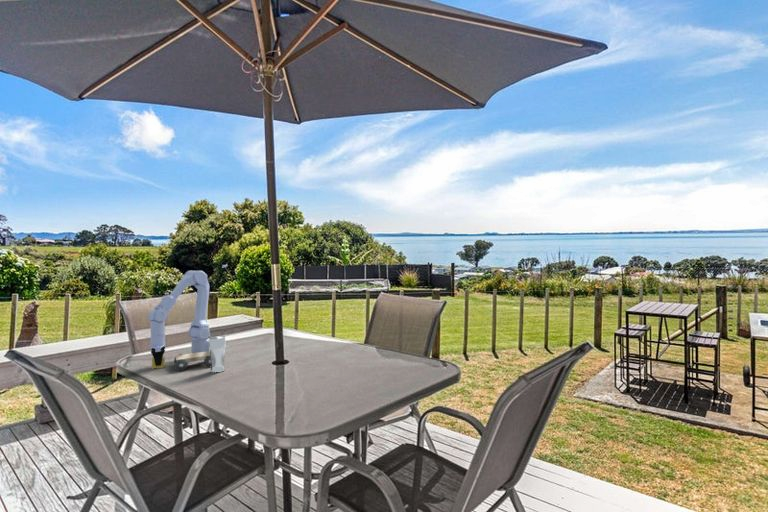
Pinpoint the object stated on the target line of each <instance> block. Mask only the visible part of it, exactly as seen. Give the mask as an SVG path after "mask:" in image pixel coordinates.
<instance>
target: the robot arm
mask: <svg viewBox="0 0 768 512" xmlns="http://www.w3.org/2000/svg"><path fill="white" fill-rule="evenodd" d="M191 286H193V287H195V288H196V290H197V292H196V293H197V294H196V299H195V300H196V302H195V312H194V320H193V321H192V322H191V324H190V327H189V329H188V333H187V334H188V336H189V337H190V341H191V345H190V348H191V353H199V352H206V351H209V338H210V332H211V331H210V325H209V323H208V321H207V313H208V306H209V305H208V304H209V295H210V287H211V286H210V283H209V280H208V274H207V273H205V272H204V271H203V270H192V269H191V270H187V271H186V272H185V273H184V274H183V275H182V277H181V279H180V281H179V282H178V283H177V284H176V286H175V287H174V289H173V290H172V291H171V293H170V294H168V295H165V296H163V297H161V301H160V302H159V303H158V304H157V305H155V307H154V308H153V309H150V311H149V313H148V315H147V319H148V320H149V321H150V322H149V323H150V344H148V345H147V348H151V349H150V354H151V355H152V357H154V361H155V365H156V366H159V365H161V363H162V357H163V356H164V354H165V353H166V327H165V326H166V325H165V324H166V323H165V322H166V321H165V320H166V319H167V318H168V314H169V312H170V311H171V310H172V308H173V307H174V306H175V305H176V304H177V299H178V298H179V296H180V295H182V293H183V292H184V291H185V290H186V289H187V288H188V287H191Z"/></svg>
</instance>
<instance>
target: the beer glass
mask: <svg viewBox="0 0 768 512" xmlns="http://www.w3.org/2000/svg"><path fill="white" fill-rule="evenodd" d="M208 339H209V354H210V359H211V367H210V373H211V372H213V373H212V374H217V373H216V372H221V373H223V372H222V371H224V370H225V371H226V366H225V357H226V353H227V352H226V351H227V344H226V336H225V335H216V336H211V337H210V336H209V337H208ZM225 371H224V372H225ZM214 372H215V373H214Z"/></svg>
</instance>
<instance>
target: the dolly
mask: <svg viewBox="0 0 768 512" xmlns="http://www.w3.org/2000/svg"><path fill="white" fill-rule="evenodd" d="M173 361H174V367H175V368H174V369H175V370H176V371H178V372H184V371H185V370H186V369H187V368H188V366H189V365H188V364H189V363H188V362H195V361H204V365H205V366H206V367H208V366H211V359H210V354H209V351H206V352H199V353H192V352H190V353H185V354H183V353H179V354H177V355H175V356H174V359H173ZM183 370H184V371H183Z"/></svg>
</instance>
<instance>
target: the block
mask: <svg viewBox="0 0 768 512" xmlns="http://www.w3.org/2000/svg"><path fill="white" fill-rule="evenodd" d="M165 362H166V361H165V355H163V357H162V363H161V365H159V366H156V365H155V361H154V357H153V356H152V358H151V369H152V370H155V369H154V368H157V369H164V368H163V367H165V368H166V366H165V364H166V363H165Z"/></svg>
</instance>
